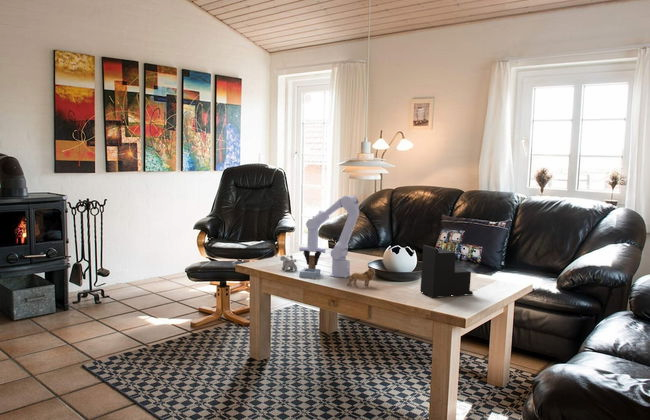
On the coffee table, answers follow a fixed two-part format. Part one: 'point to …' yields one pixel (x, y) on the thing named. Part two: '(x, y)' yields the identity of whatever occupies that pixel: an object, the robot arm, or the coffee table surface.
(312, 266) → the peg
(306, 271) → the socket
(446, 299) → the coffee table surface
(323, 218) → the robot arm
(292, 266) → the elephant statuette
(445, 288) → the bookend
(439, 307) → the coffee table surface
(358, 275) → the lion figurine
